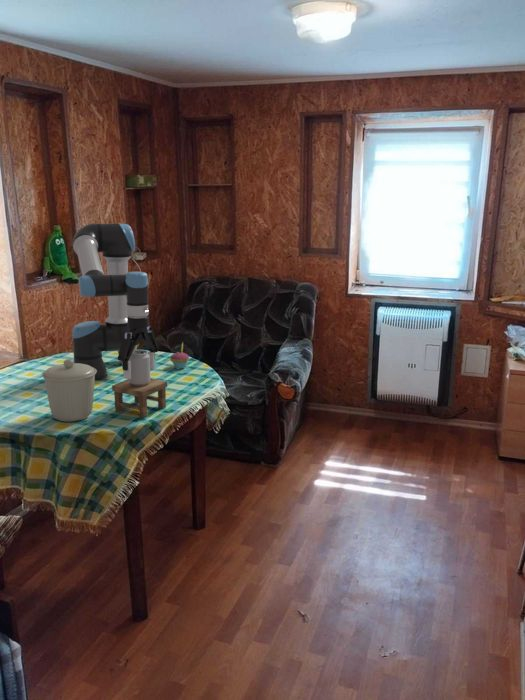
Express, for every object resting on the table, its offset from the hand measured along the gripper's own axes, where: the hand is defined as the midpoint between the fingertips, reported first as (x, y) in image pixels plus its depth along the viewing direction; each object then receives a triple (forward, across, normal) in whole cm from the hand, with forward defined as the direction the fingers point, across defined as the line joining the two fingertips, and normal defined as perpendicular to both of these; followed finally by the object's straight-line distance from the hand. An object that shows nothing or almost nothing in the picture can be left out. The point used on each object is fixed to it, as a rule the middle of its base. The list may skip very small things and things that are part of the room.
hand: (139, 373), depth 210 cm
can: (+4, 0, 0) cm, 4 cm away
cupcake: (+14, +52, +19) cm, 57 cm away
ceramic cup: (+14, +48, +45) cm, 67 cm away
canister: (+14, -18, +16) cm, 28 cm away
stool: (+14, 0, 0) cm, 14 cm away
